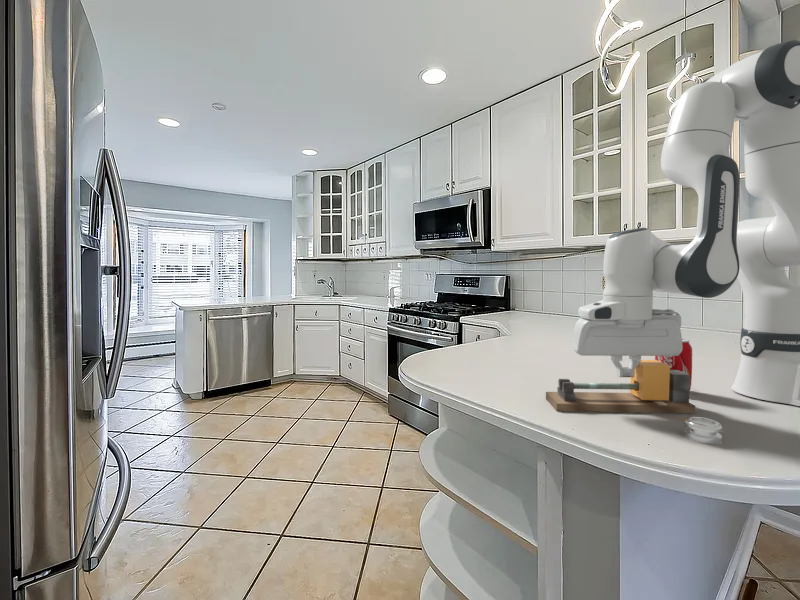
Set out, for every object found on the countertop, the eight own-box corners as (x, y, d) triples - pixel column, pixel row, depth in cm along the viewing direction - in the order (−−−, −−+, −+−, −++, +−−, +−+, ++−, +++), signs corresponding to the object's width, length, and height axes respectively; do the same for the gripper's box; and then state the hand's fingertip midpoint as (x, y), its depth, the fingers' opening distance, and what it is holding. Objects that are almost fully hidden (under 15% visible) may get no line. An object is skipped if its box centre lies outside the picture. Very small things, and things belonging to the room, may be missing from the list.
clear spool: (691, 442, 66) (727, 446, 64) (691, 424, 65) (728, 427, 64) (679, 431, 70) (713, 434, 69) (679, 414, 70) (714, 417, 69)
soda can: (695, 397, 89) (697, 342, 88) (657, 393, 91) (659, 340, 91) (686, 388, 95) (687, 337, 94) (651, 385, 98) (652, 336, 97)
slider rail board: (671, 400, 87) (672, 367, 86) (695, 413, 79) (696, 377, 78) (545, 398, 89) (546, 366, 89) (556, 410, 81) (557, 376, 81)
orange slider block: (655, 392, 85) (656, 359, 85) (668, 400, 80) (670, 365, 80) (630, 392, 86) (631, 359, 85) (642, 400, 81) (643, 365, 80)
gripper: (672, 307, 85) (670, 373, 86) (570, 308, 87) (569, 372, 87) (690, 310, 78) (688, 381, 79) (580, 311, 80) (579, 380, 81)
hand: (625, 376), depth 83 cm, fingers closed
